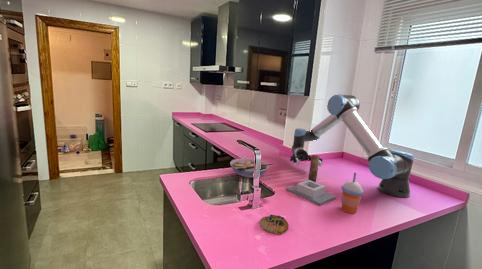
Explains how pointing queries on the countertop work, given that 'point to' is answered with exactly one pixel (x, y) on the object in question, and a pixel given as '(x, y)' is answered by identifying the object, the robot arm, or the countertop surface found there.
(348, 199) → the cup with straw
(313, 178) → the peg
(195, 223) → the countertop surface
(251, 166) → the ramen bowl
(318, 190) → the socket
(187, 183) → the countertop surface
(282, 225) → the bread roll
